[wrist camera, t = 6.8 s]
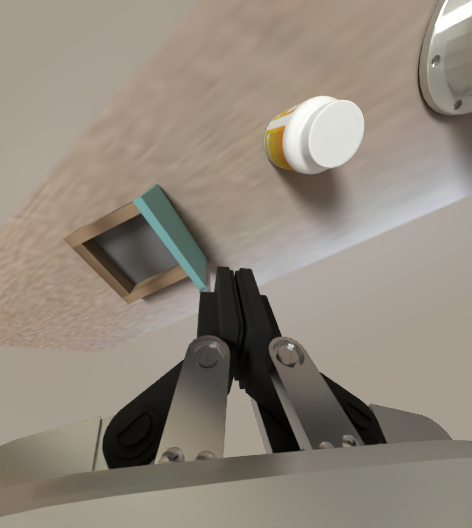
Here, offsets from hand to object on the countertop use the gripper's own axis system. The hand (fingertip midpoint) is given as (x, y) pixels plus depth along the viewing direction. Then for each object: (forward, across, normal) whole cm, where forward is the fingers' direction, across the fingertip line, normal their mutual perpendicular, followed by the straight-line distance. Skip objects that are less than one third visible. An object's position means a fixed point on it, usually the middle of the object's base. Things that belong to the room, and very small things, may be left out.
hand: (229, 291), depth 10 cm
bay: (+16, +9, +6) cm, 20 cm away
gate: (+17, +4, +3) cm, 17 cm away
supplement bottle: (+17, -7, -8) cm, 20 cm away
